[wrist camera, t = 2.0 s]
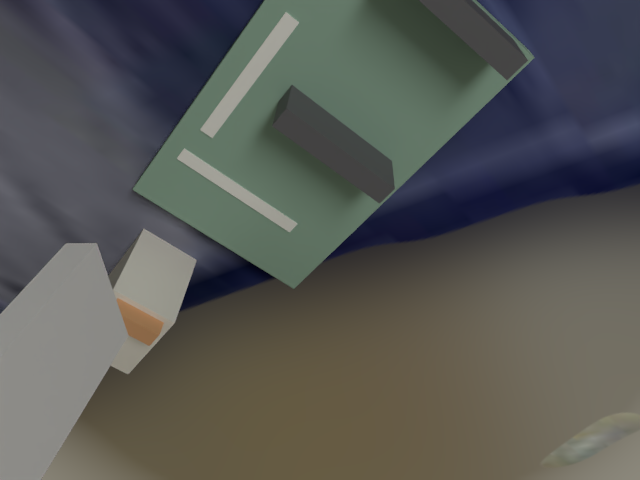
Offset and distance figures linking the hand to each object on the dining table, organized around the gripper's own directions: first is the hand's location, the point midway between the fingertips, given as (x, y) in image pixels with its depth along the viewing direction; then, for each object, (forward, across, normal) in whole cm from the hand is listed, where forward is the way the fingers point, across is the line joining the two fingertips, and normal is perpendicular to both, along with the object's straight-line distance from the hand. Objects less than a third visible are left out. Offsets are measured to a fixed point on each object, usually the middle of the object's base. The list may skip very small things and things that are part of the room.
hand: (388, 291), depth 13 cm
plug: (+20, -17, -14) cm, 30 cm away
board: (+20, -5, -4) cm, 21 cm away
